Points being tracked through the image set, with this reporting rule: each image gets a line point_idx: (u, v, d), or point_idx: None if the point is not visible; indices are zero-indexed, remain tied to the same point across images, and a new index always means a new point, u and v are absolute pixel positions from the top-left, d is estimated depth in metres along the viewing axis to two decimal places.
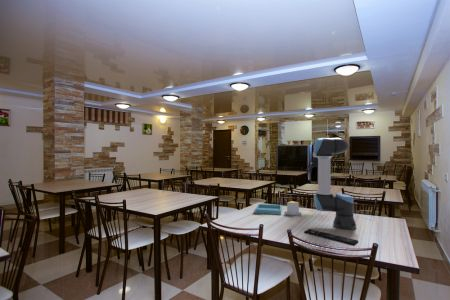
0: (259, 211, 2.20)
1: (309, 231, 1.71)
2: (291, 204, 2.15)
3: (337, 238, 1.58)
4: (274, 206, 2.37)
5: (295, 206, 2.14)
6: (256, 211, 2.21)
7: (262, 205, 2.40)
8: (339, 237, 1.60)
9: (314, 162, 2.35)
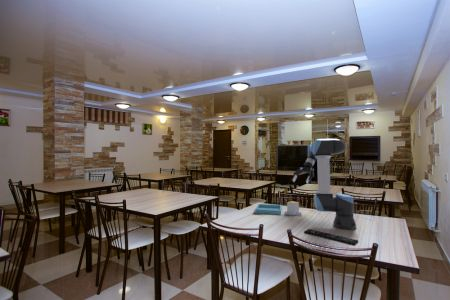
0: (259, 211, 2.20)
1: (309, 231, 1.71)
2: (291, 204, 2.15)
3: (337, 238, 1.58)
4: (274, 206, 2.37)
5: (295, 206, 2.14)
6: (256, 211, 2.21)
7: (262, 205, 2.40)
8: (339, 237, 1.60)
9: (304, 167, 2.33)
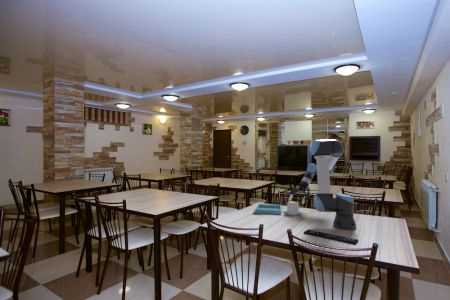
0: (259, 211, 2.20)
1: (308, 232, 1.70)
2: (291, 204, 2.15)
3: (338, 238, 1.58)
4: (274, 206, 2.37)
5: (295, 206, 2.14)
6: (256, 211, 2.21)
7: (262, 205, 2.40)
8: (339, 237, 1.60)
9: (300, 186, 2.31)
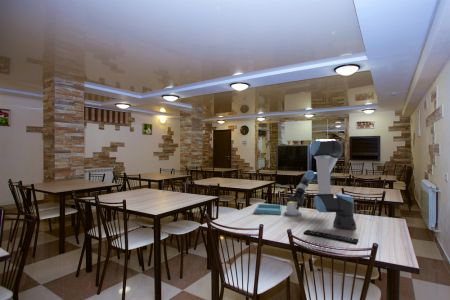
0: (259, 211, 2.20)
1: (308, 232, 1.70)
2: (291, 204, 2.15)
3: (338, 238, 1.59)
4: (274, 206, 2.37)
5: (295, 206, 2.14)
6: (256, 211, 2.21)
7: (262, 205, 2.40)
8: (339, 236, 1.61)
9: (296, 193, 2.25)
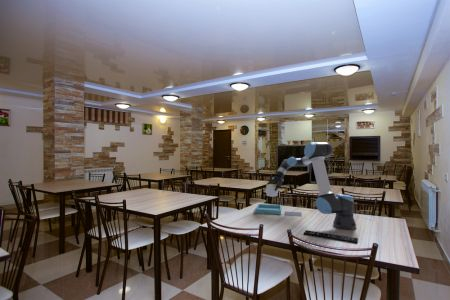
0: (259, 211, 2.20)
1: (308, 232, 1.69)
2: (270, 186, 2.26)
3: (338, 237, 1.59)
4: (274, 206, 2.37)
5: (273, 188, 2.25)
6: (256, 211, 2.21)
7: (262, 205, 2.40)
8: (339, 236, 1.61)
9: (275, 176, 2.36)
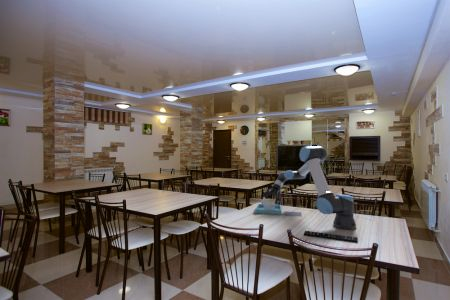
0: (259, 211, 2.20)
1: (308, 233, 1.67)
2: (267, 201, 2.26)
3: (339, 237, 1.59)
4: None
5: (270, 202, 2.25)
6: (256, 211, 2.21)
7: (262, 205, 2.40)
8: (339, 236, 1.62)
9: (272, 189, 2.36)
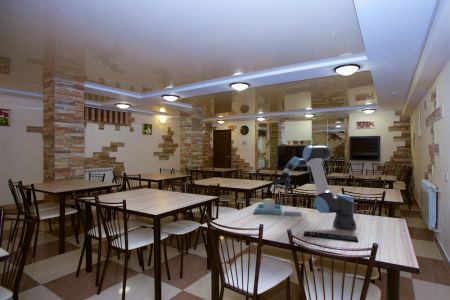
0: (259, 211, 2.20)
1: (308, 233, 1.67)
2: (267, 201, 2.26)
3: (339, 237, 1.60)
4: None
5: (270, 202, 2.25)
6: (256, 211, 2.21)
7: (262, 205, 2.40)
8: (339, 236, 1.62)
9: (281, 177, 2.44)
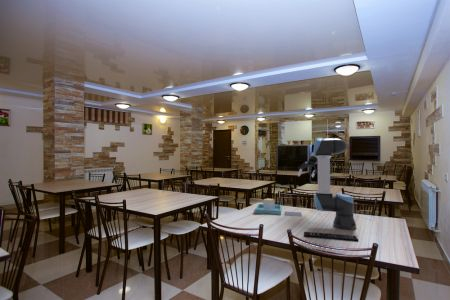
0: (259, 211, 2.20)
1: (308, 234, 1.65)
2: (267, 201, 2.26)
3: (339, 237, 1.60)
4: None
5: (270, 202, 2.25)
6: (256, 211, 2.21)
7: (262, 205, 2.40)
8: (339, 235, 1.63)
9: (309, 161, 2.32)
